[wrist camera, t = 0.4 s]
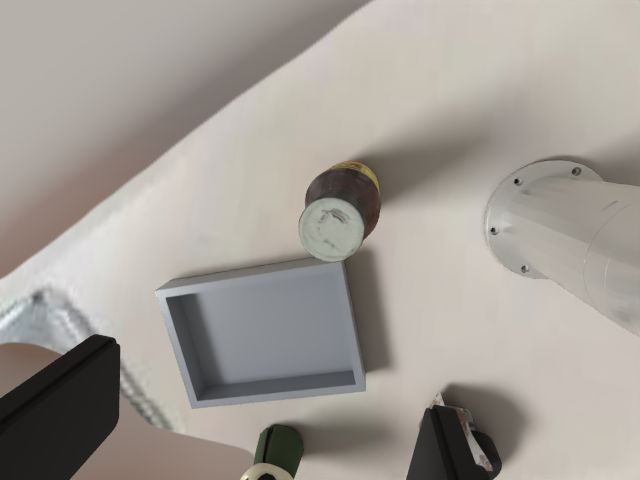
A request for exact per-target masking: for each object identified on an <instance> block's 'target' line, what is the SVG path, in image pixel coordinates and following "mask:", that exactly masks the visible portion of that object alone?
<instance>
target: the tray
mask: <svg viewBox="0 0 640 480" xmlns="http://www.w3.org/2000/svg"><path fill="white" fill-rule="evenodd" d="M155 293H156V296H157V299H158V302H159V306H160V309H161V312H162V315H163V318H164V322H165V325H166V328H167V331H168V334H169V337H170V341H171V344H172V347H173V350H174V353H175V357H176V360H177V363H178V366H179V369H180V372H181V376H182V379H183V382H184V385H185V388H186V392H187V395H188V398H189V401H190V404H191V407H192V409H195V408H205V407H215V406H225V405H235V404H245V403H254V402H264V401H274V400H284V399H294V398H304V397H314V396H323V395H333V394H343V393H353V392H363V391H366V374H365V368H364V363H363V358H362V352H361V347H360V342H359V337H358V331H357V326H356V321H355V316H354V310H353V305H352V300H351V294H350V289H349V284H348V279H347V273H346V268H345V263H344V260H342V261H337V262H329V261H323V260H321V259H318V258H316V257H312V258H306V259H300V260H294V261H288V262H281V263H275V264H269V265H263V266H257V267H250V268H244V269H238V270H232V271H226V272H219V273H213V274H207V275H201V276H195V277H188V278H182V279H176V280H170V281H169V282H167V283H166V284H164V285H163V286H161V287H160V288H158V289H157V290H155Z"/></svg>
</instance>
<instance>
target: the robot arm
mask: <svg viewBox="0 0 640 480" xmlns="http://www.w3.org/2000/svg"><path fill="white" fill-rule="evenodd" d="M573 169H574V172H573V173H572V170H573ZM515 179H517V183H514V180H515ZM492 228H494V230H493V231H492V232H491V231H490V230H491V229H492ZM484 234H485V238H486V241H487V244H488V246H489V248H490V250H491V252H492V254H493V255H494V256H495V257H496V258H497V260H498V261H499V262H501V263H502V264H503V265H504V266H505V267H507V268H508V269H510V270H511V271H513V272H515V273H517V274H519V275H521V276H525V277H529V278H534V279H551V280H552V281H554V282H555V283H557V284H558V285H560V286H561V287H563V288H564V289H566V290H567V291H569V292H570V293H572V294H573V295H575V296H576V297H577V298H579V299H580V300H582V301H583V302H585V303H586V304H588V305H589V306H591V307H592V308H594V309H595V310H597V311H598V312H600V313H601V314H603V315H604V316H606V317H607V318H609V319H610V320H612V321H613V322H615V323H616V324H617V325H619V326H621V327H622V328H624V329H626V330H627V331H629V332H631V333H633V334H635V335H637V336H640V186H634V185H626V184H618V183H610V182H605V181H604V180H603V178H602V177H601V176H599V175H598V174H597V173H596V172H595V171H594V170H592V169H590V168H588V167H586V166H584V165H582V164H578V163H575V162H571V161H562V160H548V161H542V162H537V163H534V164H531V165H528V166H526V167H523V168H522V169H520V170H518V171H516V172H515V173H513V174H512V175H510V176H509V177H508V178H507V179H506V180H504V181H503V182H502V184H501V185H500V186H499V187H498V188H497V189H496V191H495V192H494V194H493V196H492V197H491V199H490V201H489V203H488V206H487V209H486V212H485V218H484ZM523 266H524V268H522V267H523ZM521 268H522V269H521ZM119 391H120V345H119V344H117V343H116V340H115V339H114V338H112V337H107V336H103V335H98V334H94V335H92V336H90V337H89V338H87V339H86V340H84V341H83V342H82V343H80V344H79V345H77V346H76V347H74V348H73V349H71V350H70V351H68V352H67V353H66V354H64V355H63V356H61V357H60V358H58V359H57V360H55V361H54V362H52V363H51V364H50V365H48V366H47V367H45V368H44V369H42V370H41V371H39V372H38V373H36V374H35V375H34V376H32V377H31V378H29V379H28V380H26V381H25V382H23V383H22V384H21V385H19V386H18V387H16V388H15V389H13V390H12V391H10V392H9V393H7V394H6V395H4V396H3V397H2V398H0V480H70V479H71V477H72V476H73V475H74V474H75V473H76V472H77V471H78V469H79V468H80V467H81V466H82V465H83V464H84V463H85V462H86V460H87V459H88V458H89V457H90V456H91V455H92V454H93V453H94V451H95V450H96V449H97V448H98V447H99V446H100V444H102V442H103V441H104V440H105V439H106V438H107V436H109V434H110V433H111V432H112V431H113V430H114V428H115V427H116V424H117V422H118V419H119ZM406 480H490V478H489V475H488V473H487V471H486V469H485V468H484V467H483V466H482V465H477V464H476V463H475V460H474V457H473V454H472V452H471V449H470V446H469V444H468V441H467V438H466V436H465V433H464V430H463V428H462V425H461V422H460V420H459V417H458V414H457V412H456V410H455V409H454V408H451V407H446V406H441V405H436V404H435V405H433V407H432V409H430V408H426V410H425V413H424V417H423V420H422V424H421V428H420V431H419V435H418V438H417V442H416V446H415V449H414V453H413V457H412V460H411V464H410V467H409V471H408V475H407V478H406Z"/></svg>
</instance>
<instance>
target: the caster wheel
mask: <svg viewBox="0 0 640 480" xmlns="http://www.w3.org/2000/svg"><path fill="white" fill-rule="evenodd" d="M435 404H436V405H441V406H446V407H451V408H454V409H455V410H456V412H457V414H458V417H459V420H460V422H461V425H462V428H463V430H464V433H465V436H466V438H467V441H468V444H469V446H470V449H471V452H472V454H473V457H474V460H475V463H476V464H477V465H482V466H483V467H484V468H485V469H486V471H487V473H488V475H489V478H490V480H493V479H494V478H495V477H497V475H498V474H499V473H500V471H501V468H502V462H501V459H500V457H499V454H498V452H497V449H496V447H495V445H494V443H493V441H492V439H491V438H490V437H489V436H487V435H486V434H484V433H482V432H479V431H475V426H474V421H473V418H472V416H471V413H470V412H469V411H468V410H467V409H464V408H459V407H454V406H448V405H444V402H443V399H442V396H441V393H440V392H438V394H437V395H436V397H435V399H434V400H433V402H432V404H431V405H430V407H429V408H430V409H432V407H433V405H435ZM422 420H423V418H422ZM422 420H421V422H420V424H419V428H421V424H422Z"/></svg>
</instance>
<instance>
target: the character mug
mask: <svg viewBox="0 0 640 480" xmlns="http://www.w3.org/2000/svg"><path fill="white" fill-rule="evenodd" d="M267 433H268V428H266V429H265V430H264V431H263V432H262V433H261V434H260V438H259V441H258V445H257V449H256V453H255V459H254V465H253V466H252V467H251V468H250V469H248V470H247V471H246V472H245V474H244V475H243V477H242V478H241V479H240V480H294V477H295V475H296V472H297V469H298V466H299V463H300V460H301V457H302V454H303V451H304V448H303V443H302V440H301V439H300V437H299V435H298V434H297V432H296V431H294V430H292V429H291V428H289V427H287V426H281V425H275V426H274V429H273V433H271V434H269V435H267Z"/></svg>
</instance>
